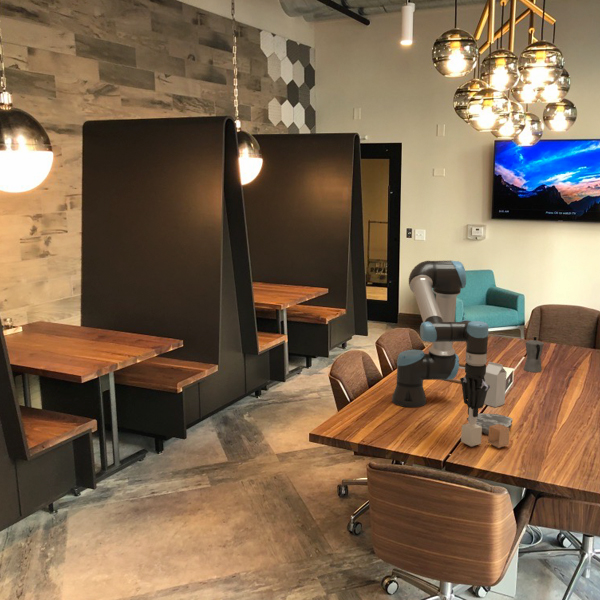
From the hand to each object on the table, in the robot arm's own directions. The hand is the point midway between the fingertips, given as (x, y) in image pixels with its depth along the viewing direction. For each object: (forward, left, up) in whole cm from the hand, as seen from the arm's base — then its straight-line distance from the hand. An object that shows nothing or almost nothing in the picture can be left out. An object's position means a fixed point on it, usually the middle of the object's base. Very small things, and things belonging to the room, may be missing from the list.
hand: (472, 423), depth 250 cm
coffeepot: (-56, +102, -9) cm, 117 cm away
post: (0, 0, -8) cm, 8 cm away
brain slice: (-10, +20, -9) cm, 24 cm away
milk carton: (-29, +43, -9) cm, 53 cm away
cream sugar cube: (0, 0, -7) cm, 7 cm away
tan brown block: (+6, +8, -8) cm, 13 cm away
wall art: (-77, +61, -9) cm, 99 cm away
